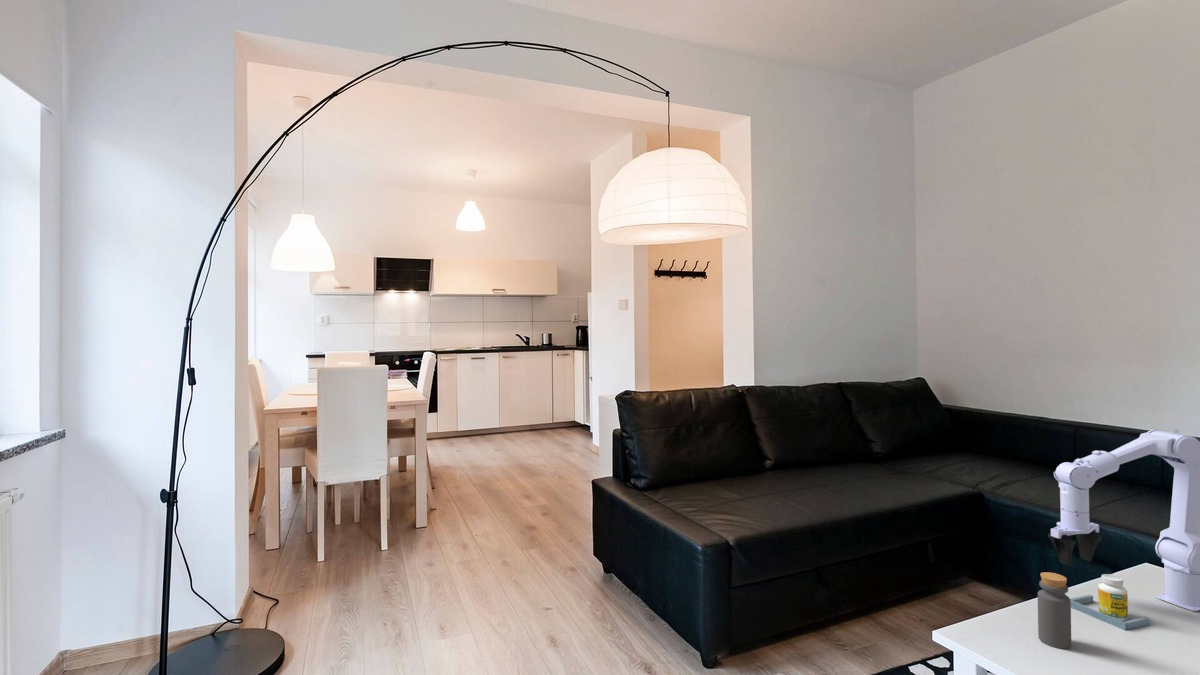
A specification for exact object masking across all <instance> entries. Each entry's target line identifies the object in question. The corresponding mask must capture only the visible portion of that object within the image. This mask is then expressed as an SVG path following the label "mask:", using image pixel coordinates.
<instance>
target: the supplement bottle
mask: <svg viewBox="0 0 1200 675" xmlns="http://www.w3.org/2000/svg"><path fill="white" fill-rule="evenodd" d="M1100 577H1101V582H1100V583H1098V585H1097V589H1098V590H1097V591H1098V592H1097V594H1098V611H1099V612H1101V613H1104V614H1106V615H1109V616H1111V617H1113V618H1116V619H1118V620H1121V621H1123V622H1124V621H1128V619H1129V612H1128V611H1129V609H1128V608H1129V607H1128V606H1129V603H1128V601H1129V600H1128V590H1127V588H1126V587H1124V578H1122V577H1120V576H1117V575H1114V574H1109V573H1103V574H1101V576H1100Z"/></svg>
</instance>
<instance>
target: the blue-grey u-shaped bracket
mask: <svg viewBox="0 0 1200 675" xmlns="http://www.w3.org/2000/svg"><path fill="white" fill-rule="evenodd" d="M1070 601H1071V609H1074V610H1076V611H1079V612H1081V613H1084V614H1086V615H1088V616H1091V617H1094V618H1095V619H1098V620H1099V621H1103V622H1104V623H1107V624H1110V625H1112V626H1114V627H1116V628H1118V629H1121V630H1124V631H1128V630H1131V629H1136V628H1141V627H1144V626H1149V625H1150V622H1151V620H1150V617H1148V616H1143V617H1142V616H1141V617H1138V618H1134V619H1133V618H1132V619H1129V620H1128V619H1127V620H1125V621H1121V620H1118V619H1116V618H1113V617H1111V616H1109V615H1106V614H1104V613H1101V612H1099V610H1096V609H1094V608H1091V607H1089V606H1086V605H1084V604H1089V603H1093V602H1094V595H1092V594H1087V595H1081V596H1076V597H1072V598H1070Z"/></svg>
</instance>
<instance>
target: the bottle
mask: <svg viewBox="0 0 1200 675" xmlns="http://www.w3.org/2000/svg"><path fill="white" fill-rule="evenodd" d="M1040 578H1041V580H1039V584H1038V585H1039V587H1040V588H1041V589H1040V590H1038V592H1037V628H1038V631H1037V632H1038V639H1040V640H1041V641H1040V640H1039V641H1040V642H1041V643H1043V642H1044V643H1043V644H1045V643H1046V644H1045V645H1047V644H1048V645H1047V646H1049V645H1050V646H1049V647H1052V646H1054V647H1053V648H1055V647H1057V648H1056V649H1064V650H1067V649H1071V647H1072V607H1071V601H1070V599H1071V598H1070V596H1068V595H1067V594H1068V592H1069V587H1068V585H1067V581H1068V579H1067V577H1066V576H1064V575H1062V574H1059V573H1055V572H1049V571H1047V572H1046V571H1045V572H1040ZM1066 593H1067V594H1066Z"/></svg>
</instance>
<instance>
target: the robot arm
mask: <svg viewBox="0 0 1200 675" xmlns="http://www.w3.org/2000/svg"><path fill="white" fill-rule="evenodd" d="M1139 434H1140V435H1139V437H1138V438H1135V439H1134V440H1132V441H1130V442H1128V443H1126V444H1124V445H1121V446H1120V447H1117V448H1115V449H1114V450H1111V451H1109V452H1108V451H1105V450H1093V451H1092V452H1091V454H1089V455H1087V456H1085V457H1081V458H1076V459H1074V461H1073V462H1068V461H1066V462H1062V463H1060V464H1059V465H1058V466H1057V467H1056V469H1055V471H1053V477H1054V478H1055V480H1056V481H1057V482H1058V488H1059V500H1060V501H1059V502H1060V507H1059V508H1060V521H1057V522H1056V526H1055V527H1053V528H1052V527H1051V528H1050V533H1048V535H1047V536H1048V538H1049V540H1050V541H1051V543H1052V545H1053V546H1054V549H1055V552H1056V554H1057V557H1058V560H1059V563H1061V564H1063V565H1066V566H1071V564H1072V557H1073V550H1074V548H1075V545H1076V543H1078V552H1079V557H1080V559H1081V560H1083V561H1086V562H1092V560H1093V558H1094V554H1095V551H1096V549H1097V547H1098V545H1099V543H1100V542H1101V541H1102V539H1103V535H1102V534H1100V525H1099V524H1097V523H1094V522H1090V494H1089V493H1090V491H1089V490H1090V489H1091V488H1092V487H1093V485H1095V483H1096V481H1098V480H1099V479H1101V478H1103V477H1106V476H1108V475H1111V474H1113V473H1116V472H1118V471H1119V469H1120V465H1123V464H1125V463H1129V462H1131V461H1134V460H1137V459H1140V458H1143V457H1146V456H1149V455H1153V456H1157V457H1159V458H1161V459H1163V460H1164V461H1165V462H1167V463H1168V464H1169V465H1170V466H1171V467H1173V470H1174V471H1173V472H1174V473H1173V482H1172V495H1171V506H1170V518H1169V519H1170V520H1169V527H1168V528H1165V529H1163V530H1161V531H1160V532H1159V533H1160V534H1159V538H1158V539H1157V541H1156V543H1155V546H1154V549H1155V553H1156V555H1157V556H1158V557H1159V558H1160V559H1161V563H1163V564H1164V565H1163V566H1164V568H1163V569H1164V572H1163V574H1164V594H1163V593H1162V594H1157V595H1156V596H1155V598H1156V599H1159V600H1162V601H1164V602H1165V603H1166V602H1167V603H1170V604H1172V605H1176V606H1178V607H1180V608H1183V609H1186V610H1189V611H1191V612H1198V611H1200V440H1198V439H1197V438H1196V437H1194V436H1192V435H1188V434H1186V435H1185V434H1179V433H1174V432H1168V431H1163V430H1159V429H1151V430H1149V431H1147V432H1144V433H1139ZM1069 536H1075V537H1076V540H1077V541H1076V540H1074V539H1070V537H1069Z"/></svg>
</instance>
